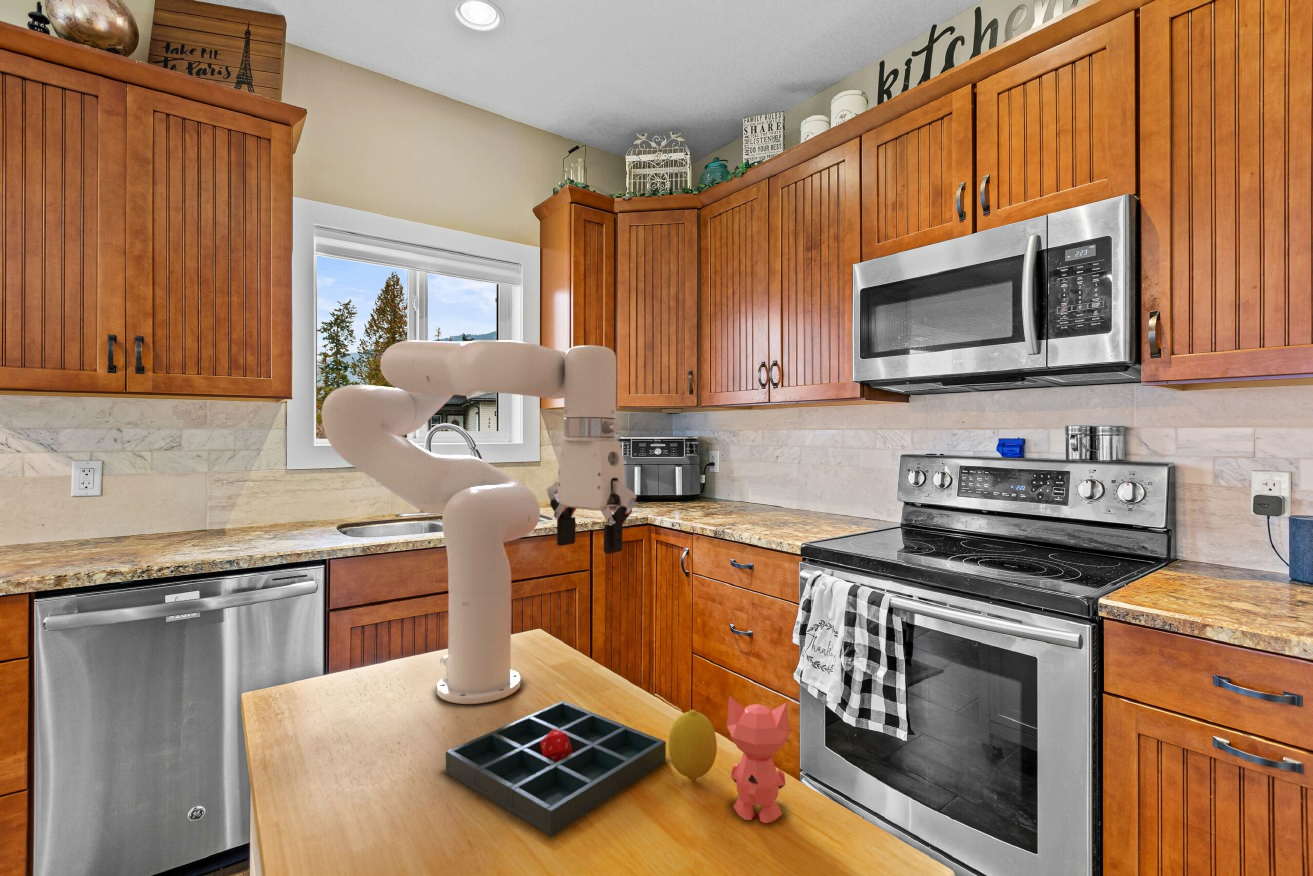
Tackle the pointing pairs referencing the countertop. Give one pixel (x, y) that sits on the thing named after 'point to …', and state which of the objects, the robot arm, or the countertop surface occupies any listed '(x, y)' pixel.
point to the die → (556, 746)
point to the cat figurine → (757, 757)
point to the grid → (555, 765)
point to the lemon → (692, 744)
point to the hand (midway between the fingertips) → (588, 548)
